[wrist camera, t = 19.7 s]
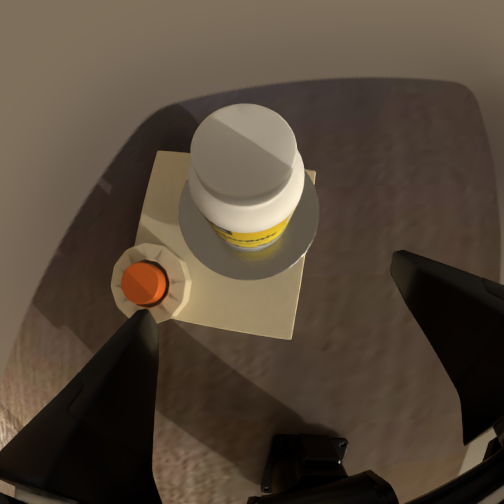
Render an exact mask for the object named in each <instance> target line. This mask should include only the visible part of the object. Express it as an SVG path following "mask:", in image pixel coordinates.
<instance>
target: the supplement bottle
mask: <svg viewBox="0 0 504 504" xmlns="http://www.w3.org/2000/svg"><path fill="white" fill-rule="evenodd" d="M190 155H191V162H190V166H189V172H188V184H189V189H190V193H191V196H192V198H193V201H194V203H195V204H196V206H197V208H198V210H199V211H200V212H201V214H202V215H203V216H204V217H205V219H206V220H207V222H208V223H209V224H210V226H211V227H212V228H213V230H214V231H215V232H216V233H217V235H218V236H219V237H221V238H222V239H223V240H224V241H226V242H227V243H229V244H231V245H233V246H236V247H239V248H246V249H253V248H259V247H262V246H265V245H267V244H269V243H271V242H273V241H274V240H275V239H276V238H278V237H279V236H280V234H281V233H282V232H283V231H284V229H285V228H286V226H287V224H288V222H289V220H290V218H291V216H292V214H293V212H294V210H295V208H296V206H297V204H298V202H299V200H300V197H301V194H302V191H303V187H304V176H305V174H304V165H303V162H302V158H301V156H300V154H299V152H298V150H297V144H296V139H295V136H294V134H293V131H292V129H291V128H290V126H289V125H288V123H287V122H286V121H285V120H284V119H283V118H282V117H281V116H280V115H279V114H277V113H276V112H274V111H272V110H270V109H268V108H266V107H263V106H259V105H255V104H234V105H230V106H226V107H223V108H221V109H219V110H217V111H215V112H213V113H212V114H210V115H209V116H208V117H207V118H206V119H204V121H203V122H202V123H201V124H200V125H199V127H198V128H197V130H196V132H195V134H194V136H193V139H192V142H191V149H190Z"/></svg>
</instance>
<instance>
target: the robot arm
mask: <svg viewBox="0 0 504 504" xmlns="http://www.w3.org/2000/svg"><path fill="white" fill-rule="evenodd" d="M390 271H391V275H392V277H393V279H394V281H395V283H396V285H397V287H398V289H399V291H400V293H401V295H402V297H403V299H404V301H405V303H406V305H407V307H408V308H409V310H410V311H411V313H412V314H413V316H414V318H415V319H416V321H417V322H418V324H419V326H420V327H421V329H422V330H423V332H424V334H425V335H426V337H427V339H428V340H429V342H430V344H431V345H432V347H433V349H434V351H435V352H436V354H437V356H438V357H439V359H440V361H441V363H442V364H443V366H444V368H445V370H446V372H447V373H448V375H449V377H450V379H451V381H452V382H453V384H454V386H455V388H456V390H457V392H458V394H459V397H460V402H461V412H462V426H463V443H464V446H466V445H468V444H469V443H471V442H473V441H474V440H476V439H477V438H479V437H481V436H482V435H484V434H485V433H487V432H488V431H490V430H491V429H494V431H495V433H496V435H497V437H495V438H494V439H493V440H491V441H490V442H489V443H488V446H487V449H486V452H485V455H484V458H483V461H482V462H481V463H480V464H478V465H477V466H475V467H473V468H472V469H470V470H469V471H467V472H465V473H464V474H462V475H460V476H458V477H457V478H455V479H453V480H451V481H449V482H448V483H446V484H444V485H442V486H440V487H438V488H436V489H434V490H432V491H430V492H428V493H426V494H424V495H422V496H420V497H418V498H415V499H413V500H411V501H409V502H406V503H404V504H504V285H501V284H499V283H496V282H493V281H490V280H488V279H485V278H481V277H479V276H476V275H473V274H471V273H468V272H465V271H463V270H460V269H457V268H454V267H451V266H449V265H446V264H443V263H440V262H437V261H434V260H431V259H429V258H426V257H423V256H420V255H417V254H414V253H411V252H408V251H405V250H400V251H396V252H394V253H393V255H392V262H391V268H390ZM158 365H159V346H158V325H157V323H156V321H155V319H154V317H153V316H152V314H151V312H150V311H149V309H147V308H145V309H140V310H137V311H136V312H135V313H134V314H133V315H132V316H131V317H130V318H129V319H128V320H127V321H126V322H125V323H124V324H123V326H122V327H121V328H120V329H119V330H118V331H117V332H116V333H115V334H114V335H113V336H112V337H111V338H110V339H109V340H108V341H107V343H106V344H105V345H104V346H103V347H102V348H101V349H100V350H99V351H98V352H97V353H96V354H95V355H94V357H93V358H92V359H91V360H90V361H89V362H88V363H87V364H86V365H85V366H84V367H83V369H82V370H81V371H80V372H78V374H77V375H76V376H75V377H74V378H73V379H72V380H71V381H70V382H69V383H68V384H67V386H66V387H65V388H64V389H63V390H62V391H61V392H60V393H59V394H58V395H57V396H56V397H55V398H54V399H53V400H52V401H50V402H49V403H48V404H47V405H46V406H45V407H44V408H43V409H42V410H41V411H40V412H39V413H38V414H37V415H36V416H35V417H34V418H33V419H32V420H31V421H30V422H29V423H28V424H27V425H26V426H25V427H24V428H23V429H22V430H21V431H20V432H19V433H18V434H17V435H16V436H15V437H14V438H13V439H12V440H11V441H10V442H9V443H8V444H7V445H6V446H5V447H4V448H3V449H2V450H1V451H0V480H2V481H4V482H6V483H8V484H11V485H13V486H15V496H14V498H13V497H11V496H8V495H6V494H3V493H1V492H0V504H162V501H161V498H160V496H159V493H158V490H157V487H156V484H155V481H154V477H153V472H152V454H153V432H154V415H155V400H156V388H157V376H158ZM278 438H280V439H281V440H280V441H276V439H278ZM343 442H345V443H344V444H343V445H340V444H341V443H343ZM348 444H349V443H348V441H347V439H345V438H330V437H329V436H325V435H309V434H300V435H287V434H276V435H274V436H273V438H272V442H271V447H270V451H269V455H268V459H267V463H266V467H265V471H264V475H263V479H262V483H261V491H262V492H264V493H272V494H269V495H262V496H261V497H257V496H252V497H249V498H248V501H247V504H399V502H398V499H397V496H396V494H395V492H394V490H393V488H392V487H391V485H390V484H389V483H388V482H387V481H385V480H384V479H382V478H381V477H380V476H378V475H377V474H375V473H374V472H373V471H371V470H367V471H364V472H362V473H359V474H356V475H353V476H349V477H348V475H347V473H346V471H345V469H344V467H343V465H342V463H343V460H344V457H345V454H346V451H347V448H348ZM265 487H268V488H267V489H265Z"/></svg>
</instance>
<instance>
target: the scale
mask: <svg viewBox="0 0 504 504" xmlns="http://www.w3.org/2000/svg"><path fill="white" fill-rule="evenodd" d="M190 162H191V155H190V153H183V152H171V151H159V150H158V151H157V154H156V158H155V161H154V165H153V169H152V172H151V176H150V180H149V184H148V188H147V192H146V196H145V200H144V204H143V208H142V213H141V217H140V221H139V226H138V231H137V235H136V240H135V245H134V247H132V248H129V249H127V250H126V251H125V252H124V253H123V255H122V256H121V257H120V259H119V260H118V261H117V263H116V264H115V266H114V269H113V274H112V281H111V289H112V293H113V296H114V299H115V302H116V305H117V307H118V308H119V309H120V310H121V311H122V312H123V313H124V314H125V315H126V316H127V317H128V318H130V317H131V316H132V315H133V314H134V313H135V312H136V311H137V310H140V309H145V308H147V309H149V311H150V312H151V314H152V316H153V317H154V319H155V321H156V323H160V322H163V321H166V320H169V319H176V320H180V321H185V322H190V323H195V324H200V325H205V326H210V327H215V328H221V329H226V330H232V331H237V332H243V333H249V334H255V335H261V336H268V337H274V338H281V339H288V340H291V338H292V332H293V326H294V321H295V315H296V309H297V303H298V297H299V291H300V285H301V278H302V272H303V265H304V259H305V254H304V255H303V256H302V257H301V258H300V260H299V261H297V262H296V263H295V264H294V265H293V266H291V267H290V268H288V269H287V270H285V271H284V272H282V273H280V274H277V275H275V276H272V277H269V278H266V279H261V280H250V281H245V280H236V279H232V278H228V277H225V276H222V275H220V274H217V273H216V272H214V271H212V270H210V269H209V268H207V267H206V266H205V265H203V264H202V263H201V262H200V261H199V260H198V259H197V258H196V257H195V256H194V255H193V253H192V252H191V251H190V249H189V248H188V246H187V244H186V242H185V240H184V238H183V235H182V233H181V229H180V225H179V216H178V215H179V202H180V197H181V193H182V190H183V188H184V185H185V183H186V181H187V180H188V172H189V166H190ZM304 170H305V171H306V172H307V174H308V175H309V177H310V178H311V180H312V182H313V184H314V183H315V174H316V172H315V171H312V170H306V169H304ZM137 262H144V263H148V264H152V265H155V266H157V267H158V268H160V269H161V270H162V272H163V273H164V275H165V278H166V290H165V293H164V295H163V296H162V297H161V298H160V299H159V300H158V301H156V302H154V303H149V304H135V303H133V302H131V301H130V300H128V299H127V298H126V296H125V295H124V293H123V290H122V286H121V280H122V276H123V273H124V271H125V270H126V269H127V268H128V267H129V266H130V265H131V264H133V263H137Z"/></svg>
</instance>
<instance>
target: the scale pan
mask: <svg viewBox="0 0 504 504" xmlns="http://www.w3.org/2000/svg"><path fill="white" fill-rule="evenodd" d="M304 174H305V176H304V187H303V191H302V194H301V197H300V200H299V202H298V204H297V206H296V208H295V210H294V212H293V214H292V216H291V218H290V220H289V222H288V224H287V226H286V228H285V229H284V231H283V232H282V233H281V234H280V236H279V237H278V238H276V239H275V240H274V241H273V242H271V243H269V244H267V245H265V246H262V247H259V248H253V249H246V248H239V247H236V246H233V245H231V244H229V243H227V242H226V241H224V240H223V239H222V238H221V237H219V236H218V235H217V233H216V232H215V231H214V230H213V228H212V227H211V226H210V224H209V223H208V222H207V220H206V219H205V217H204V216H203V215H202V214H201V212H200V211H199V210H198V208H197V206H196V204H195V203H194V201H193V198H192V196H191V193H190V189H189V184H188V180H187V181H186V183H185V185H184V188H183V190H182V193H181V197H180V202H179V215H178V216H179V225H180V229H181V233H182V235H183V238H184V240H185V242H186V244H187V246H188V248H189V249H190V251H191V252H192V253H193V255H194V256H195V257H196V258H197V259H198V260H199V261H200V262H201V263H202V264H203V265H205V266H206V267H207V268H209V269H210V270H212V271H214V272H216V273H217V274H220V275H222V276H225V277H228V278H232V279H236V280H245V281H250V280H261V279H266V278H269V277H272V276H275V275H277V274H280V273H282V272H284V271H285V270H287V269H288V268H290V267H291V266H293V265H294V264H295V263H296V262H297V261H299V260H300V258H301V257H302V256H303V255H304V254H305V253H306V251H307V250H308V248H309V247H310V245H311V243H312V241H313V239H314V237H315V234H316V232H317V228H318V223H319V214H320V209H319V200H318V195H317V192H316V189H315V186H314V184H313V182H312V180H311V178H310V177H309V175H308V174H307V172H306V171H305V170H304Z"/></svg>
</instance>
